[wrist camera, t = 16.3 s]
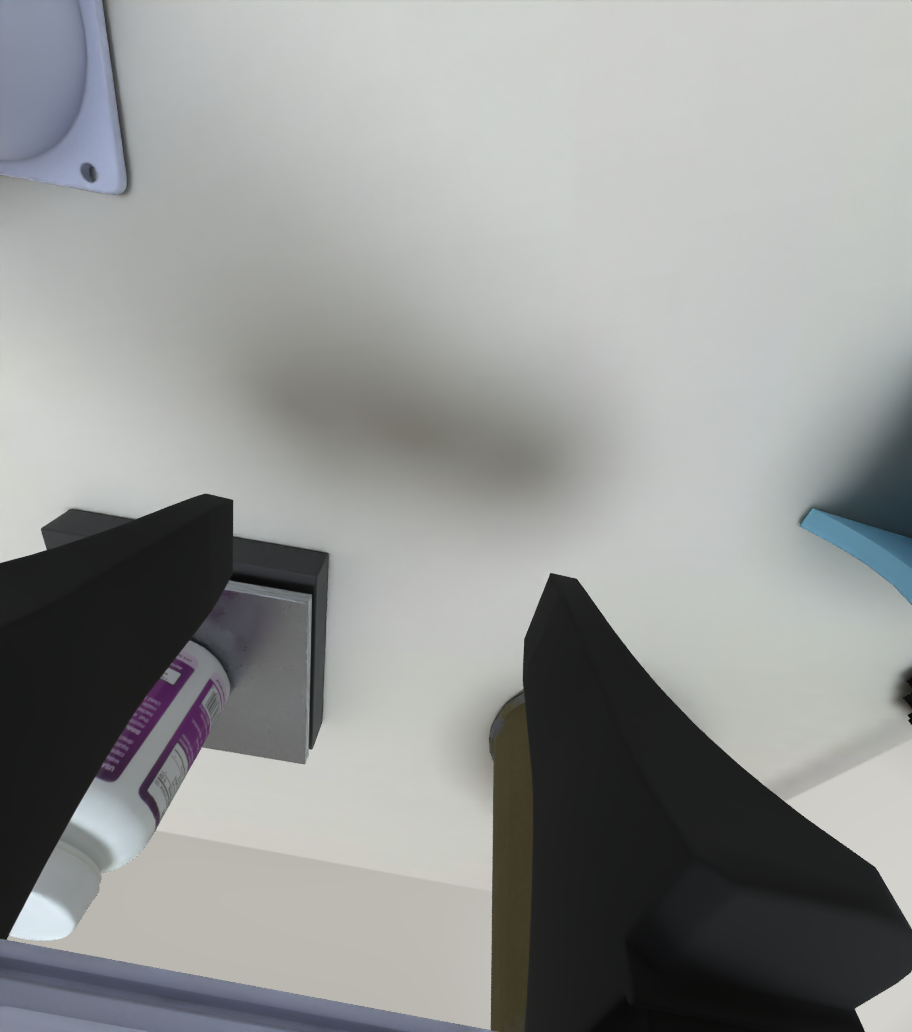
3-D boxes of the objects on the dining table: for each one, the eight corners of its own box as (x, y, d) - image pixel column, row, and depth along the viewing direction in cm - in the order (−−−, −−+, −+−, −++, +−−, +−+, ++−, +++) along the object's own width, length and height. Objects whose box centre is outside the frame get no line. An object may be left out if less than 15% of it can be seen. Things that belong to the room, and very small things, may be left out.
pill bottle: (98, 661, 24) (-119, 896, 15) (162, 609, 22) (-47, 845, 14) (191, 725, 26) (43, 966, 17) (258, 682, 24) (127, 930, 15)
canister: (608, 816, 32) (740, 1522, 14) (458, 761, 30) (405, 1480, 13) (726, 714, 27) (1150, 1616, 9) (554, 641, 25) (678, 1566, 8)
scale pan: (103, 720, 27) (95, 729, 26) (54, 549, 22) (43, 557, 21) (308, 754, 27) (305, 765, 27) (312, 593, 22) (307, 602, 21)
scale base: (115, 688, 29) (86, 723, 27) (70, 508, 23) (28, 535, 21) (322, 722, 29) (308, 760, 27) (328, 553, 24) (312, 584, 21)
